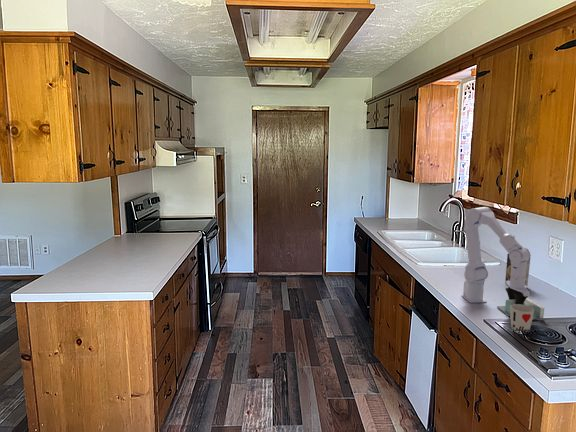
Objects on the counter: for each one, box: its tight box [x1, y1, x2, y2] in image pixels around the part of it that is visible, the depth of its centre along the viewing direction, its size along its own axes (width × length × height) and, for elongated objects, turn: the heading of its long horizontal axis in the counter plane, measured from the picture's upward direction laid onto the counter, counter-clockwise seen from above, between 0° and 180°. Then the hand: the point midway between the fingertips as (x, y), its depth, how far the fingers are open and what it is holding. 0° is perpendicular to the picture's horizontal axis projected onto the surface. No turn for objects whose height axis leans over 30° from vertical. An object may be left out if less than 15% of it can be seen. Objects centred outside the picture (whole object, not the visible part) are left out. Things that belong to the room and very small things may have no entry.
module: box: [504, 299, 525, 314], centre depth 184 cm, size 4×6×5 cm, turn 93°
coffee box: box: [504, 253, 531, 287], centre depth 220 cm, size 9×6×16 cm
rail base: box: [496, 297, 545, 320], centre depth 184 cm, size 14×12×6 cm
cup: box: [509, 304, 534, 332], centre depth 167 cm, size 8×8×10 cm
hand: (515, 306), depth 184 cm, fingers closed on module, 4 cm apart
